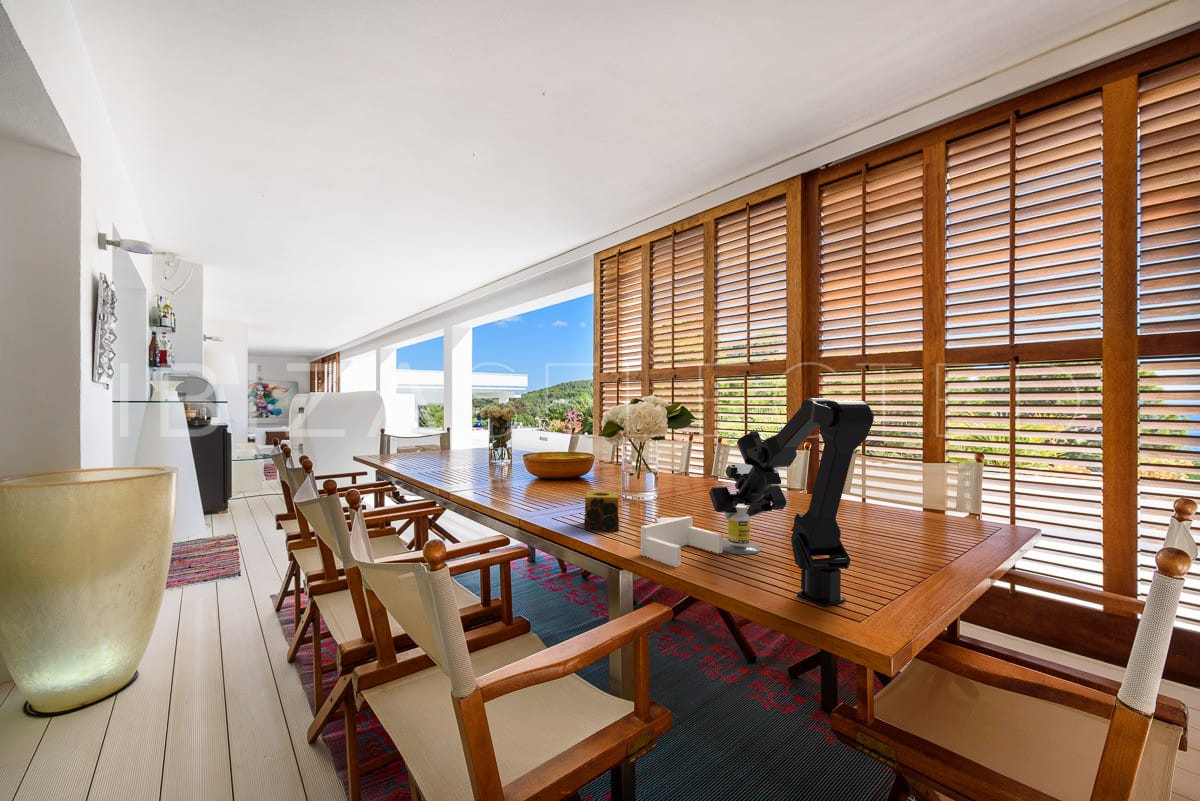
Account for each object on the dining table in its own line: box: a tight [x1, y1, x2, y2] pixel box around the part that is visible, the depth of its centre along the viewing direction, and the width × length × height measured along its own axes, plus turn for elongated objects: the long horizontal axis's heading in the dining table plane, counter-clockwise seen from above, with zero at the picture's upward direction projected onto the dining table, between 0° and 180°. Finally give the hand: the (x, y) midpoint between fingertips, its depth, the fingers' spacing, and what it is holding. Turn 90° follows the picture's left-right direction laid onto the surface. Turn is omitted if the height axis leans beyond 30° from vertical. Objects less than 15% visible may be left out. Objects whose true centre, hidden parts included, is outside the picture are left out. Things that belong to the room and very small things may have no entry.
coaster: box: [723, 539, 762, 555], centre depth 130 cm, size 11×11×1 cm
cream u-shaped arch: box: [640, 515, 724, 568], centre depth 125 cm, size 11×18×7 cm, turn 130°
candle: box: [583, 490, 620, 532], centre depth 150 cm, size 10×10×10 cm
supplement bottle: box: [727, 504, 751, 546], centre depth 130 cm, size 5×5×10 cm
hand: (736, 516), depth 131 cm, fingers open, 5 cm apart
